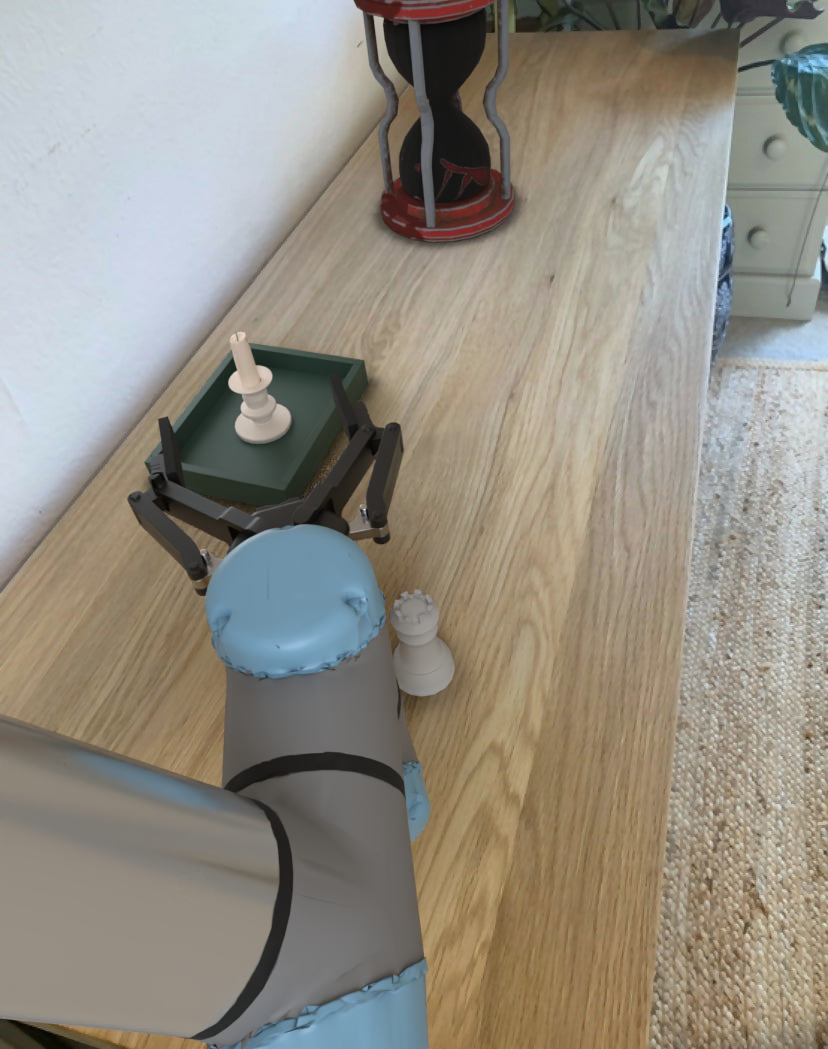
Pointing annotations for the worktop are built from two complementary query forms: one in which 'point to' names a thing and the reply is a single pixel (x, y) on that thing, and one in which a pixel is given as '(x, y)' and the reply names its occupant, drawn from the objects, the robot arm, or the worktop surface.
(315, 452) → the tray
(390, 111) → the hourglass
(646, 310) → the worktop surface
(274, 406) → the candle
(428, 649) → the rook chess piece
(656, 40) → the worktop surface
